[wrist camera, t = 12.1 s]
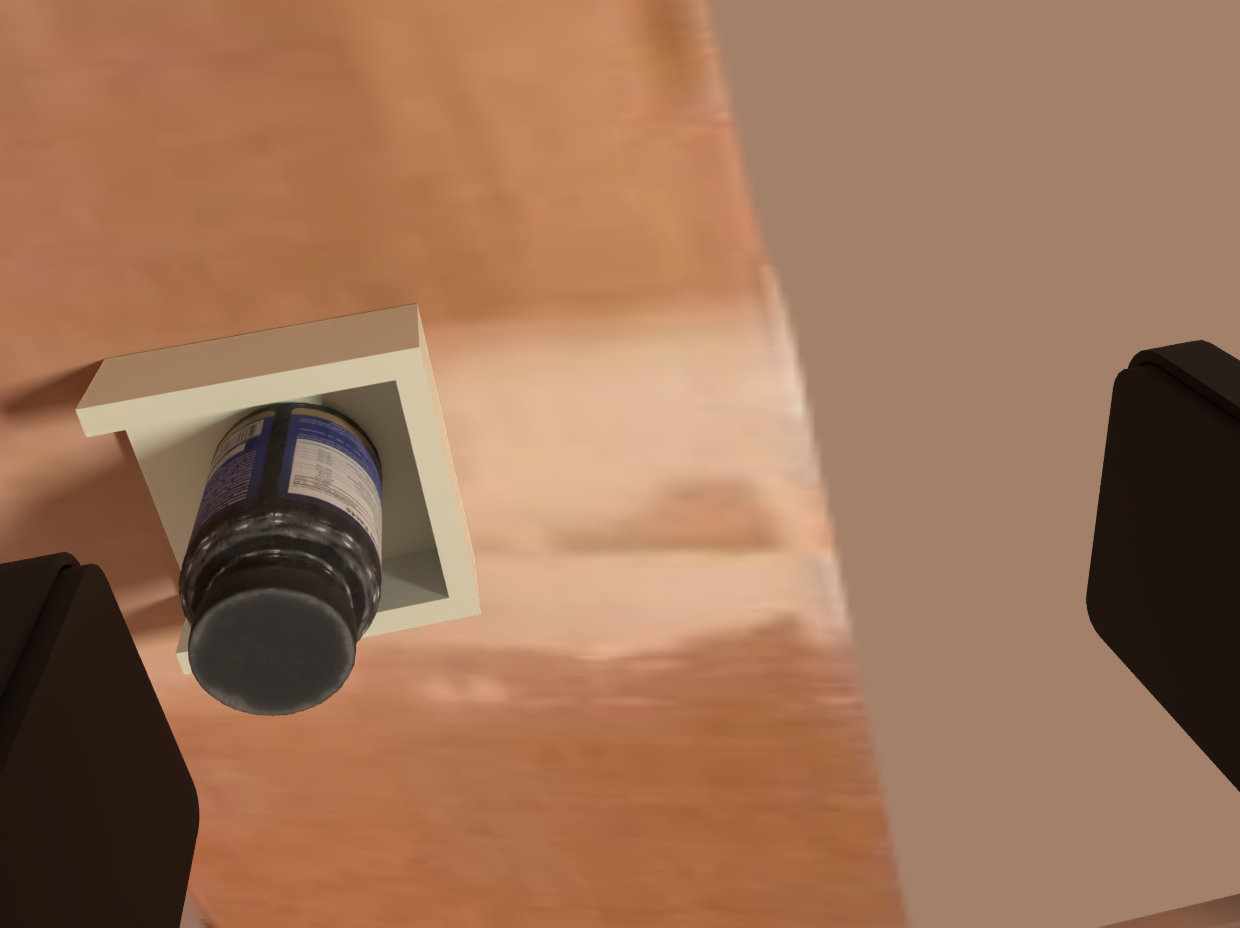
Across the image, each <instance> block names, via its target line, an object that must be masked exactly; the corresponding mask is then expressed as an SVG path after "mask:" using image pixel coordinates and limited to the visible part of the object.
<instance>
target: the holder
mask: <svg viewBox="0 0 1240 928" xmlns="http://www.w3.org/2000/svg"><path fill="white" fill-rule="evenodd" d="M284 403H311V404H317V405H321V406H325V407H329V408H332V409H334V410H336V411H338V412H340V413H342V414H343V415H345V416H347V417H348V418H350V419H351V420H353V421H354V422H355V423H356V424H358V425H359V426H360V427H361V428H362V429H363V430H364V431H365V432H366V434H367V435H368V437H369V438H370V440H371V441H372V443H373V445H374V446H375V447H376V449H377V452H378V455H379V459H380V463H381V468H382V547H381V557H382V559H381V567H382V569H381V576H382V583H381V594H380V595H381V598H380V602H379V607H378V609H377V613H376V615H375V618H374V619H373V621H372V624H371V625H370V627H369V628H368V630H367V631H366V632H365V634H364V635H363V636H362V637H361V638H365V637H370V636H375V635H380V634H385V633H390V632H395V631H399V630H404V629H409V628H414V627H419V626H424V625H429V624H433V623H438V622H443V621H448V620H453V619H458V618H462V617H467V616H472V615H477V614H481V611H480V602H479V594H478V585H477V576H476V567H475V558H474V552H473V548H472V543H471V539H470V534H469V530H468V526H467V521H466V517H465V512H464V508H463V504H462V499H461V495H460V490H459V486H458V481H457V477H456V473H455V468H454V464H453V459H452V455H451V451H450V446H449V442H448V437H447V433H446V428H445V424H444V420H443V415H442V411H441V406H440V402H439V398H438V393H437V389H436V384H435V380H434V375H433V371H432V367H431V362H430V358H429V353H428V349H427V345H426V340H425V336H424V331H423V327H422V322H421V318H420V314H419V309H418V305H417V304H412V305H406V306H400V307H395V308H389V309H384V310H378V311H372V312H367V313H361V314H356V315H350V316H344V317H339V318H333V319H327V320H322V321H316V322H311V323H305V324H299V325H294V326H288V327H283V328H277V329H271V330H266V331H260V332H255V333H249V334H243V335H238V336H232V337H226V338H221V339H215V340H210V341H204V342H198V343H193V344H187V345H182V346H176V347H170V348H165V349H159V350H154V351H148V352H142V353H137V354H131V355H125V356H120V357H114V358H109V359H104V361H103V363H102V364H101V366H100V368H99V370H98V371H97V373H96V375H95V376H94V378H93V380H92V382H91V383H90V385H89V387H88V389H87V390H86V392H85V394H84V396H83V397H82V399H81V401H80V402H79V404H78V406H77V408H76V409H75V410H76V413H77V415H78V418H79V420H80V422H81V425H82V427H83V430H84V432H85V435H86V437H90V436H96V435H101V434H107V433H112V432H117V431H123V430H126V433H127V435H128V438H129V440H130V443H131V445H132V448H133V450H134V453H135V456H136V458H137V461H138V463H139V466H140V468H141V471H142V474H143V476H144V479H145V481H146V484H147V486H148V489H149V491H150V494H151V497H152V499H153V502H154V504H155V507H156V509H157V512H158V515H159V517H160V520H161V522H162V525H163V527H164V530H165V532H166V535H167V538H168V540H169V543H170V545H171V548H172V550H173V553H174V555H175V558H176V561H177V563H178V566H179V568H180V571H181V568H182V563H183V560H184V557H185V554H186V551H187V548H188V544H189V540H190V537H191V534H192V530H193V527H194V523H195V520H196V517H197V513H198V510H199V506H200V502H201V499H202V495H203V492H204V489H205V485H206V482H207V478H208V475H209V472H210V468H211V463H212V459H213V456H214V454H215V451H216V448H217V446H218V444H219V443H220V441H221V440H222V438H223V437H224V436H225V435H226V433H227V432H228V431H229V430H230V429H231V428H232V426H233V425H234V424H235V423H236V422H237V421H239V420H240V419H242V418H243V417H245V416H247V415H248V414H250V413H252V412H254V411H255V410H258V409H261V408H264V407H266V406H270V405H276V404H284ZM190 630H191V627H190V626H189V623H188V620H187V618H185V622H184V625H183V629H182V633H181V636H180V640H179V644H178V647H177V651H176V656H177V658H178V660H179V663H180V665H181V668H182V670H183V673H184V675H186V674H191V673H192V671H191V666H190V664H189V659H188V640H189V636H190Z"/></svg>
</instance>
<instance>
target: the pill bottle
mask: <svg viewBox="0 0 1240 928" xmlns="http://www.w3.org/2000/svg"><path fill="white" fill-rule="evenodd" d="M381 547H382V468H381V463H380V459H379V455H378V452H377V449H376V447H375V446H374V445H373V443H372V441H371V440H370V438H369V437H368V435H367V434H366V432H365V431H364V430H363V429H362V428H361V427H360V426H359V425H358V424H356V423H355V422H354V421H353V420H351V419H350V418H348V417H347V416H345V415H343V414H342V413H340V412H338V411H336V410H334V409H332V408H329V407H325V406H321V405H317V404H311V403H284V404H276V405H270V406H266V407H264V408H261V409H258V410H255V411H254V412H252V413H250V414H248V415H247V416H245V417H243V418H242V419H240V420H239V421H237V422H236V423H235V424H234V425H233V426H232V428H231V429H230V430H229V431H228V432H227V433H226V435H225V436H224V437H223V438H222V440H221V441H220V443H219V444H218V446H217V448H216V451H215V454H214V456H213V459H212V463H211V468H210V472H209V475H208V478H207V482H206V485H205V489H204V492H203V495H202V499H201V502H200V506H199V510H198V513H197V517H196V520H195V523H194V527H193V530H192V534H191V537H190V540H189V544H188V548H187V551H186V554H185V557H184V560H183V563H182V568H181V572H180V579H179V580H180V581H179V587H180V590H179V594H180V599H181V604H182V608H183V611H184V615H185V617H186V618H187V620H188V623H189V626H190V627H191V630H190V636H189V640H188V659H189V664H190V666H191V671H192V673H193V674H194V676H195V678H196V680H197V681H198V682H199V684H200V685H201V687H202V688H203V689H204V690H205V691H206V692H207V693H208V694H210V695H211V696H212V697H214V698H215V699H217V700H218V701H220V702H221V703H222V704H224V705H227V706H229V707H231V708H233V709H235V710H240V711H242V712H246V713H250V714H255V715H268V716H269V715H271V716H274V715H288V714H294V713H296V712H300V711H304V710H307V709H309V708H312V707H315V706H316V705H319V704H321V703H322V702H324V701H325V700H327V699H328V698H330V697H331V696H332V695H333V694H334V693H336V692H337V691H338V690H339V689H340V688H341V687H342V685H343V684H344V682H345V681H346V679H347V678H348V677H349V675H350V673H351V671H352V668H353V666H354V661H355V654H356V643H357V642H358V641H359V640H360V639H361V637H362V636H363V635H364V634H365V632H366V631H367V630H368V628H369V627H370V625H371V624H372V621H373V619H374V618H375V615H376V613H377V609H378V607H379V602H380V598H381V595H380V594H381V583H382V576H381V569H382V567H381V559H382V557H381Z"/></svg>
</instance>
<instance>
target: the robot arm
mask: <svg viewBox="0 0 1240 928" xmlns="http://www.w3.org/2000/svg"><path fill="white" fill-rule="evenodd" d="M1086 604H1087V610H1088V615H1089V618H1090V621H1091V623H1092V625H1093V627H1094V629H1095V631H1096V632H1097V633H1098V634H1099V636H1100V637H1101V638H1102V639H1103V640H1104V642H1105V643H1106V644H1107V645H1108V646H1109V647H1110V648H1111V649H1112V651H1113V652H1114V653H1115V654H1116V655H1117V656H1118V657H1119V658H1120V659H1121V660H1122V661H1123V663H1124V664H1125V665H1126V666H1127V667H1128V668H1129V669H1130V671H1131V672H1132V673H1133V674H1134V675H1135V676H1136V677H1137V678H1138V679H1139V680H1140V682H1141V683H1142V684H1143V685H1144V686H1145V687H1146V688H1147V689H1148V691H1149V692H1150V693H1151V694H1152V695H1153V696H1154V697H1155V698H1156V699H1157V700H1158V702H1159V703H1160V704H1161V705H1162V706H1163V707H1164V708H1165V709H1166V711H1167V712H1168V713H1169V714H1170V715H1171V716H1172V717H1173V718H1174V719H1175V721H1176V722H1177V723H1178V724H1179V725H1180V726H1181V727H1182V728H1183V729H1184V731H1185V732H1186V733H1187V734H1188V735H1189V736H1190V737H1191V738H1192V739H1193V740H1194V742H1195V743H1196V744H1197V745H1198V746H1199V747H1200V748H1201V749H1202V751H1203V752H1204V753H1205V754H1206V755H1207V756H1208V757H1209V758H1210V760H1211V761H1212V762H1213V763H1214V764H1215V765H1216V766H1217V767H1218V768H1219V770H1221V772H1222V773H1223V774H1224V775H1225V776H1226V777H1227V778H1228V779H1229V781H1230V782H1231V783H1232V784H1233V785H1234V786H1235V787H1236V788H1237V790H1238V791H1239V792H1240V361H1239V360H1238V359H1236V358H1234V357H1233V356H1231V355H1230V354H1228V353H1226V352H1225V351H1223V350H1221V349H1220V348H1218V347H1216V346H1215V345H1213V344H1211V343H1209V342H1206V341H1203V340H1199V341H1191V342H1185V343H1180V344H1175V345H1170V346H1164V347H1159V348H1154V349H1148V350H1143V351H1140V352H1139V353H1137V354H1136V355H1135V356H1134V357H1133V359H1132V360H1131V362H1130V364H1129V366H1128V369H1124V370H1122V371H1121V372H1120V373H1119V374H1118V376H1117V377H1116V379H1115V382H1114V386H1113V393H1112V401H1111V409H1110V416H1109V424H1108V432H1107V439H1106V447H1105V455H1104V462H1103V470H1102V478H1101V486H1100V494H1099V502H1098V509H1097V518H1096V524H1095V532H1094V540H1093V548H1092V555H1091V563H1090V571H1089V579H1088V587H1087V594H1086ZM198 828H199V803H198V797H197V792H196V789H195V786H194V783H193V780H192V778H191V776H190V773H189V771H188V769H187V766H186V764H185V762H184V759H183V757H182V754H181V752H180V750H179V747H178V745H177V743H176V740H175V738H174V736H173V733H172V731H171V729H170V726H169V724H168V722H167V719H166V717H165V714H164V712H163V710H162V707H161V705H160V703H159V700H158V698H157V696H156V693H155V691H154V689H153V686H152V684H151V682H150V679H149V677H148V674H147V672H146V670H145V667H144V665H143V663H142V660H141V658H140V656H139V653H138V651H137V649H136V646H135V644H134V642H133V639H132V637H131V635H130V632H129V630H128V627H127V625H126V623H125V620H124V618H123V616H122V613H121V611H120V609H119V606H118V604H117V602H116V599H115V597H114V595H113V592H112V590H111V587H110V585H109V583H108V580H107V578H106V576H105V574H104V573H103V571H102V570H101V569H100V567H99V566H98V565H95V564H88V565H83V566H81V565H80V564H79V562H78V561H77V560H76V558H75V557H74V556H73V555H72V554H69V553H67V552H62V553H57V554H51V555H46V556H41V557H35V558H30V559H24V560H19V561H14V562H8V563H3V564H0V928H179V927H180V922H181V917H182V912H183V906H184V901H185V896H186V891H187V886H188V880H189V875H190V870H191V865H192V860H193V854H194V849H195V844H196V839H197V834H198ZM1098 928H1240V894H1237V895H1232V896H1228V897H1224V898H1220V899H1215V900H1211V901H1207V902H1203V903H1199V904H1194V905H1190V906H1186V907H1182V908H1178V909H1174V910H1169V911H1165V912H1161V913H1156V914H1152V915H1148V916H1144V917H1139V918H1135V919H1131V920H1127V921H1123V922H1119V923H1114V924H1110V925H1106V926H1102V927H1098Z"/></svg>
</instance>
